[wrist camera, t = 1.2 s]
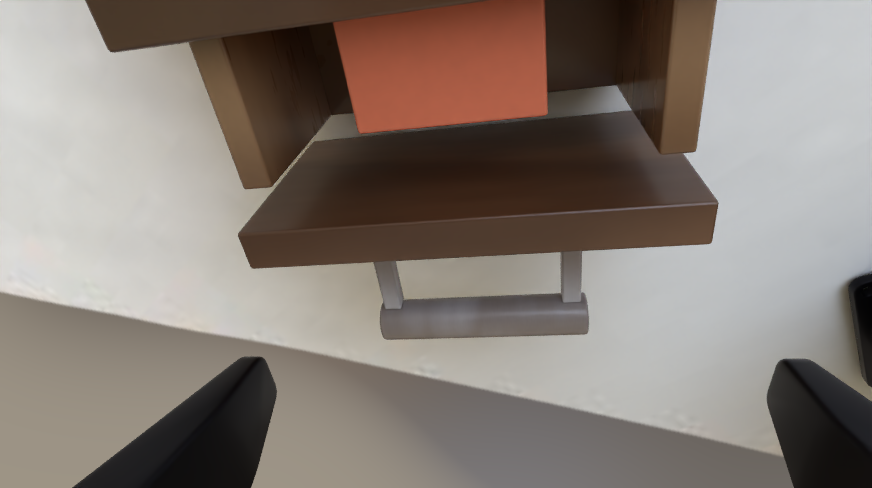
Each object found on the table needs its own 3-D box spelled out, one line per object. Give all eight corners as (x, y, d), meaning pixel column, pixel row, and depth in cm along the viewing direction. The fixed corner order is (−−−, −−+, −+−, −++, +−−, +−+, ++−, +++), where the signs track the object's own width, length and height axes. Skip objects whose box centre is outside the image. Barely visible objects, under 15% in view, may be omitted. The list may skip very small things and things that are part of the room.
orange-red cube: (536, 62, 16) (548, 116, 12) (393, 79, 17) (358, 135, 13) (530, -116, 14) (542, -126, 9) (364, -87, 14) (306, -84, 10)
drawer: (638, 255, 21) (688, 384, 15) (349, 270, 23) (299, 388, 17) (692, -382, 11) (868, -652, 6) (199, -259, 14) (-14, -374, 8)
